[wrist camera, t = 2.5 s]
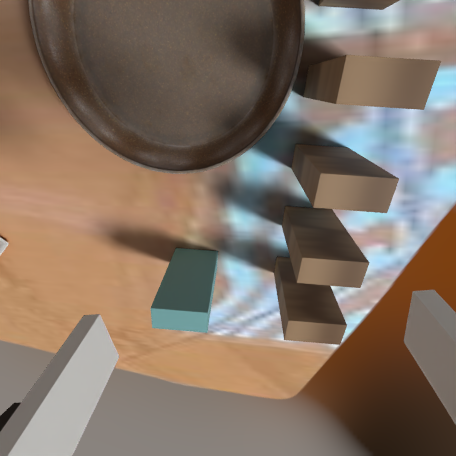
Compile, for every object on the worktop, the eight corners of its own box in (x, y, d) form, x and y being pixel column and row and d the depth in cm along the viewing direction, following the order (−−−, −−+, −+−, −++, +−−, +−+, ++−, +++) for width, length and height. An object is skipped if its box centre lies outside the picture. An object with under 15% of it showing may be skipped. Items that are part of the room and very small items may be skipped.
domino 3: (291, 168, 28) (313, 207, 19) (295, 143, 27) (320, 173, 18) (341, 171, 28) (386, 212, 19) (347, 147, 27) (399, 179, 18)
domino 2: (303, 96, 25) (335, 103, 16) (308, 65, 24) (346, 54, 15) (359, 100, 25) (423, 109, 16) (367, 69, 24) (441, 60, 15)
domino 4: (281, 225, 31) (296, 282, 22) (285, 205, 30) (302, 257, 21) (326, 229, 31) (360, 287, 22) (331, 209, 30) (369, 262, 21)
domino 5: (274, 272, 34) (284, 339, 25) (276, 256, 33) (288, 320, 24) (314, 276, 34) (340, 344, 25) (319, 259, 33) (346, 325, 24)
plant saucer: (269, 179, 29) (272, 190, 26) (70, 149, 28) (50, 157, 25) (330, -105, 19) (346, -139, 16) (32, -156, 19) (-7, -201, 16)
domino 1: (176, 264, 34) (152, 328, 25) (175, 247, 33) (150, 308, 24) (216, 267, 34) (207, 332, 25) (217, 251, 33) (207, 313, 24)
